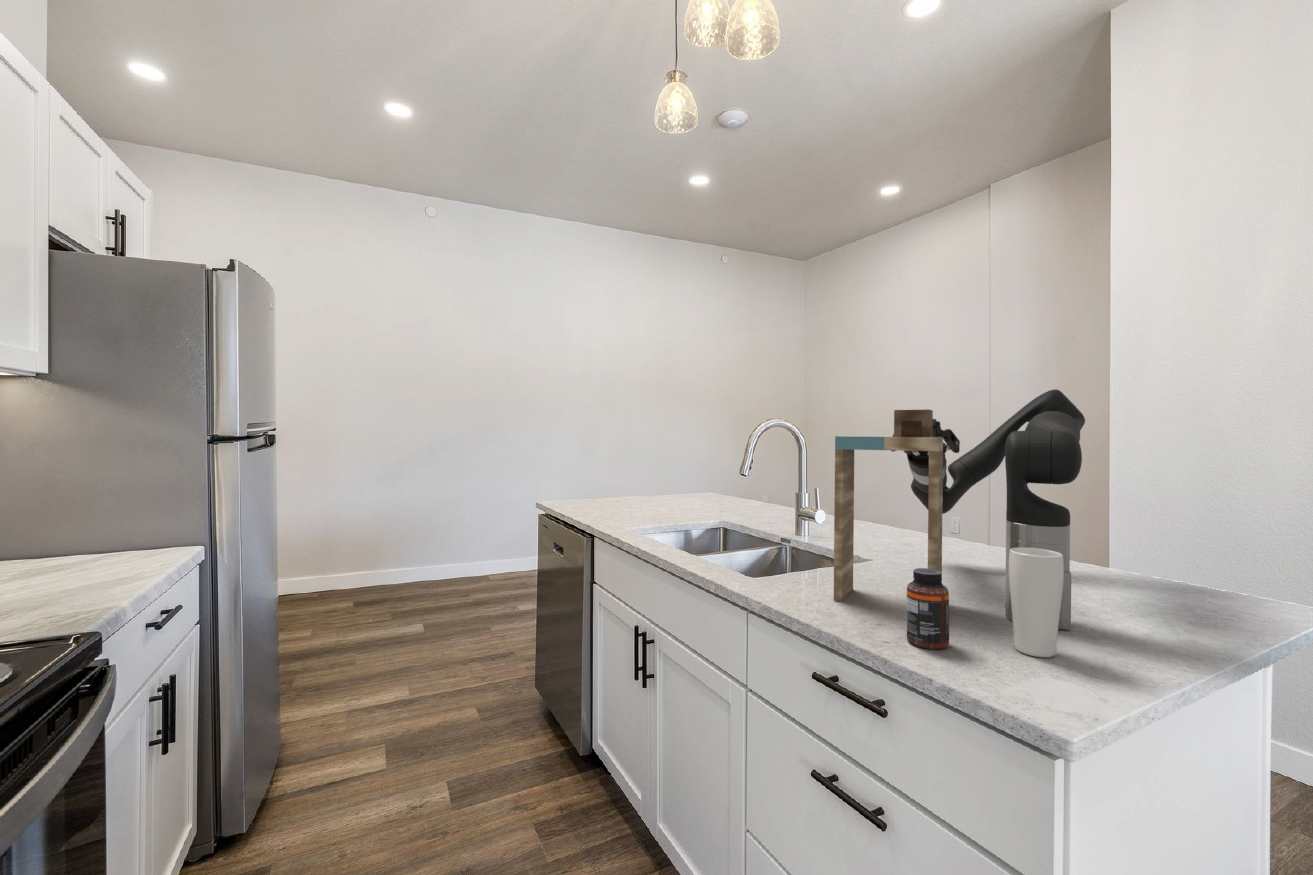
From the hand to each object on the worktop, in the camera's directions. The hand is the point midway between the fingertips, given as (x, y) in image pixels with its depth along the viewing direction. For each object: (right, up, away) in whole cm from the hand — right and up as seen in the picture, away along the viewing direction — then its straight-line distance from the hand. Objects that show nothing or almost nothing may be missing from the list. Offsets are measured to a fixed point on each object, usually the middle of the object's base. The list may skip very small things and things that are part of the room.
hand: (919, 423), depth 112 cm
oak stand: (-8, -35, -4) cm, 36 cm away
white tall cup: (+3, -35, -29) cm, 46 cm away
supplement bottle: (-11, -35, -26) cm, 45 cm away
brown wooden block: (-2, -3, -3) cm, 4 cm away
